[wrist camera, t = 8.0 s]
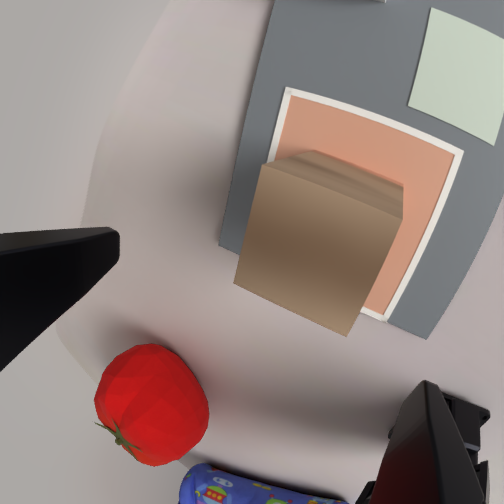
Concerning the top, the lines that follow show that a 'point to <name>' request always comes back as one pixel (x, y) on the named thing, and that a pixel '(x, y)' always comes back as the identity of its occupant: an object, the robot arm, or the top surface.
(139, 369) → the tomato
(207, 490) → the pencil case
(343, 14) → the picture board
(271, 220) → the stamp
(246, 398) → the top surface
